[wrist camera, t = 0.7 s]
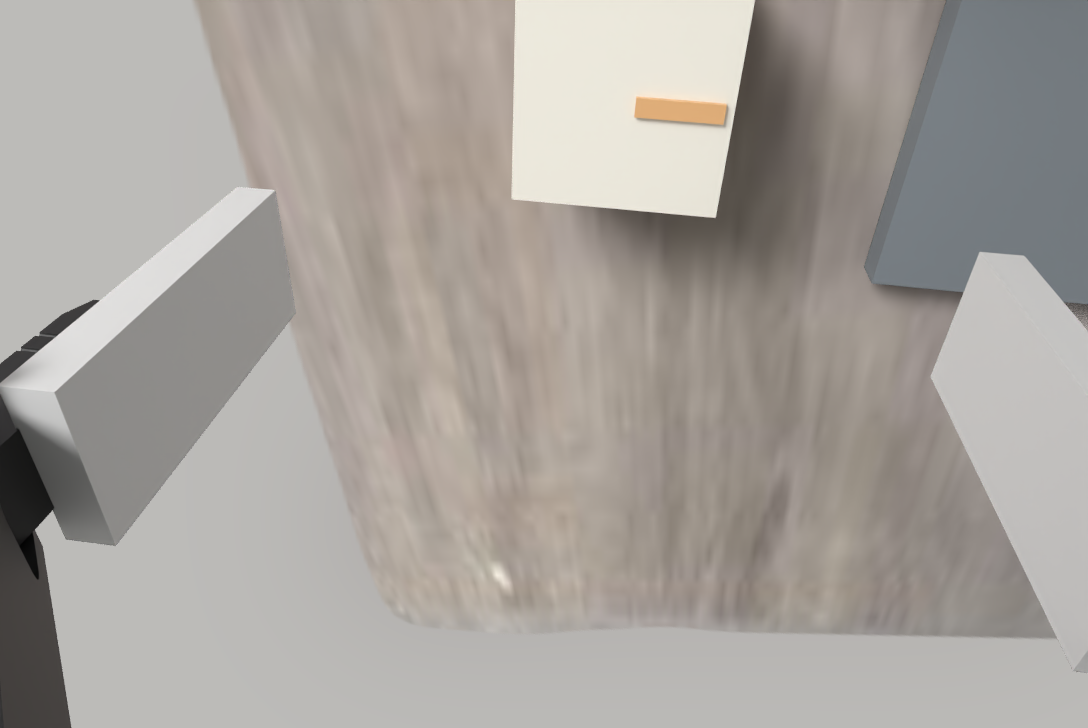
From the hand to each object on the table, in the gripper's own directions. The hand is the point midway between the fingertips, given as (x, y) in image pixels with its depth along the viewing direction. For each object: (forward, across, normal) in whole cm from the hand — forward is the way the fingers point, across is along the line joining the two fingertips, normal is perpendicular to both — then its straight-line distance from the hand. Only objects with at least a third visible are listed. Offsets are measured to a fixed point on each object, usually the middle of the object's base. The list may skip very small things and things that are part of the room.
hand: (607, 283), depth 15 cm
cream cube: (+19, 0, 0) cm, 19 cm away
